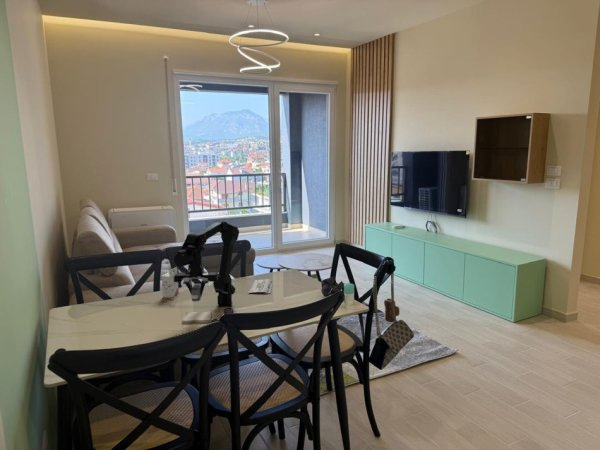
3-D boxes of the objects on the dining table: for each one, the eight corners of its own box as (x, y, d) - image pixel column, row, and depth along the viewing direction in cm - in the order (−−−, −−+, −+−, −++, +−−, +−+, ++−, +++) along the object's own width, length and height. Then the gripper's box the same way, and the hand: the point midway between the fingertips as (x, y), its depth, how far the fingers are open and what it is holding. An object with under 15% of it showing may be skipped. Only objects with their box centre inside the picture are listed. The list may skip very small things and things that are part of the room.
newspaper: (270, 295, 223) (270, 290, 223) (248, 297, 224) (247, 292, 223) (274, 282, 245) (274, 278, 245) (254, 283, 246) (253, 279, 246)
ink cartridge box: (170, 292, 225) (169, 265, 222) (178, 292, 224) (177, 266, 221) (162, 297, 216) (160, 270, 214) (171, 298, 215) (169, 270, 213)
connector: (202, 294, 192) (202, 283, 191) (198, 302, 181) (198, 291, 180) (194, 294, 192) (194, 283, 191) (190, 303, 181) (189, 292, 180)
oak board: (212, 314, 195) (212, 311, 194) (209, 322, 185) (209, 320, 185) (186, 314, 194) (186, 312, 193) (182, 323, 184) (182, 320, 184)
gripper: (218, 257, 193) (219, 289, 196) (177, 257, 192) (179, 290, 194) (216, 263, 183) (217, 297, 185) (172, 263, 181) (174, 298, 183)
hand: (196, 295), depth 187 cm, fingers closed on connector, 4 cm apart
